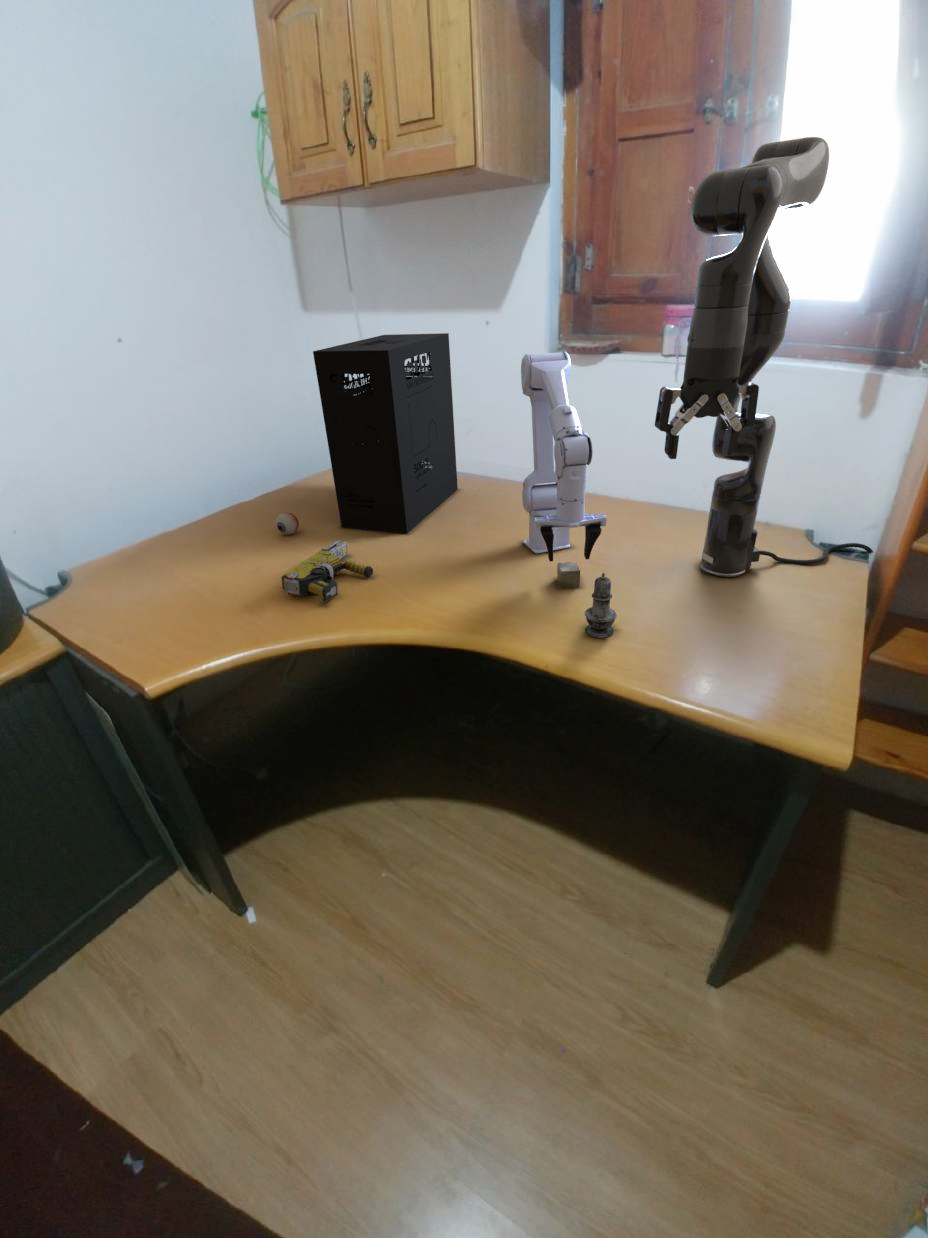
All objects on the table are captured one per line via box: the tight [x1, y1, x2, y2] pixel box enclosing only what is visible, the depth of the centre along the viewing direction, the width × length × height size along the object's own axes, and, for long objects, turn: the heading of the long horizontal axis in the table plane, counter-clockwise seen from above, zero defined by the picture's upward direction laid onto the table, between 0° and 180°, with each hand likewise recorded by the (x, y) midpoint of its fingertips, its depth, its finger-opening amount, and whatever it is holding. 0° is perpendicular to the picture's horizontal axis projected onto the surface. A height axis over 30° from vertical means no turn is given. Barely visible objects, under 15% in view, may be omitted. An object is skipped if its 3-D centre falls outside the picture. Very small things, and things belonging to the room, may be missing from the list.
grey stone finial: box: [583, 572, 618, 639], centre depth 111 cm, size 6×6×12 cm
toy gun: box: [281, 539, 374, 603], centre depth 138 cm, size 5×24×15 cm
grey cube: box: [556, 561, 581, 589], centre depth 130 cm, size 4×4×4 cm
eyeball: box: [275, 511, 300, 536], centre depth 163 cm, size 6×6×6 cm
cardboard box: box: [312, 332, 459, 534], centre depth 168 cm, size 38×20×45 cm, turn 159°
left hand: (568, 558), depth 128 cm, fingers open, 7 cm apart
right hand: (699, 456), depth 94 cm, fingers open, 8 cm apart
